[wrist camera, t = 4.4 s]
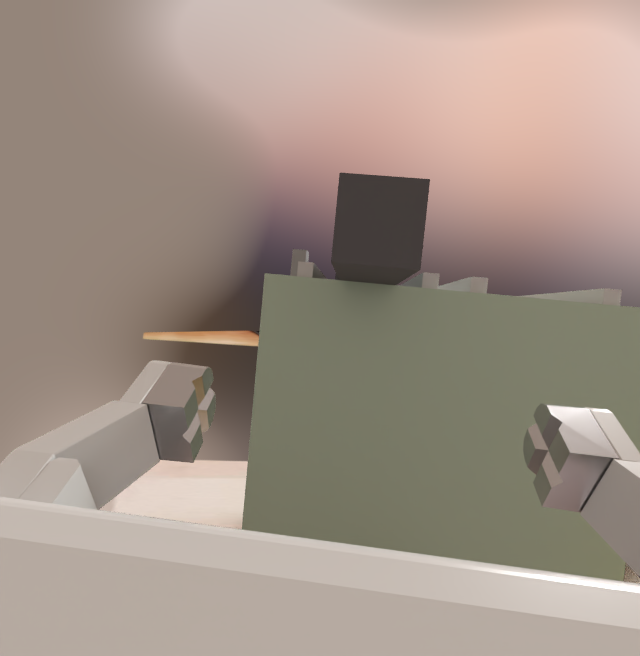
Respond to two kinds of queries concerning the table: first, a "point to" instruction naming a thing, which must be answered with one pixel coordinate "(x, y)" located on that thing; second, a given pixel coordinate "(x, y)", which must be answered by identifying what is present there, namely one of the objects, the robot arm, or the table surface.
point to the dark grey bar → (379, 228)
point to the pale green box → (429, 414)
